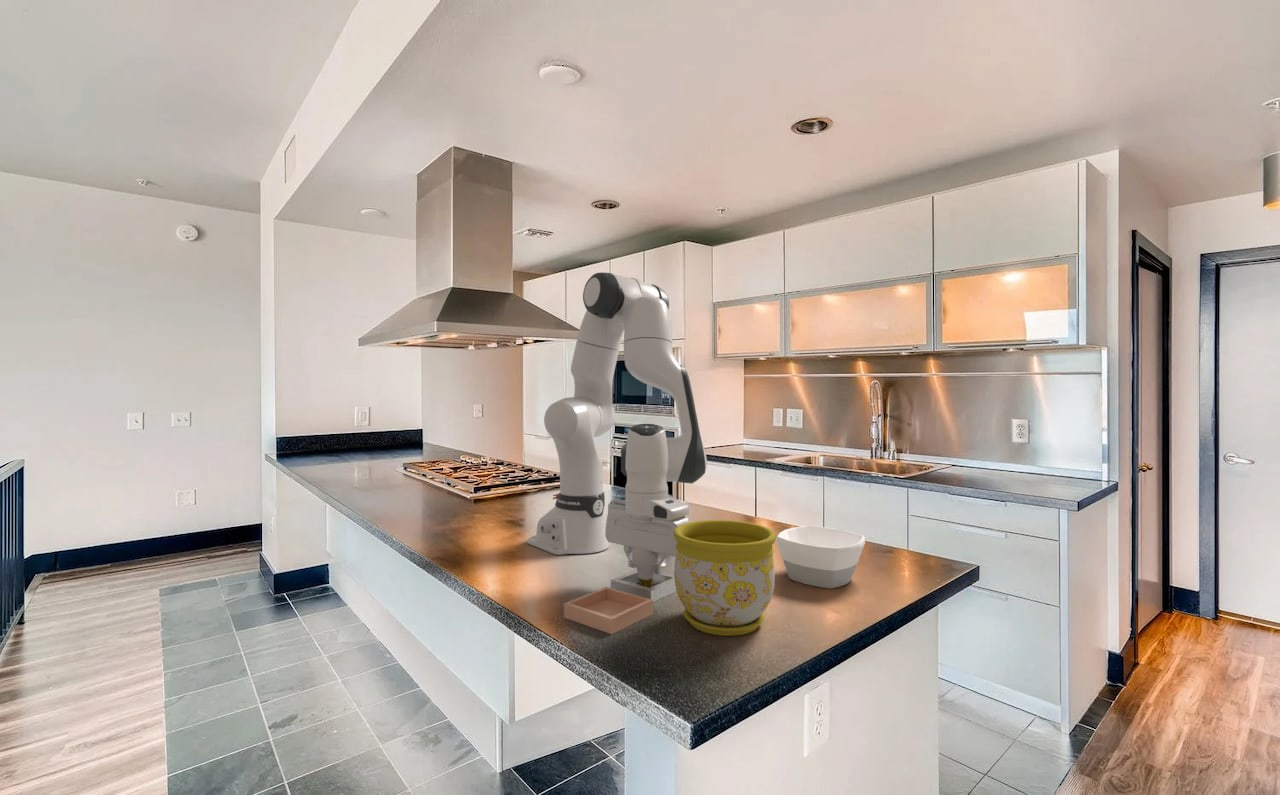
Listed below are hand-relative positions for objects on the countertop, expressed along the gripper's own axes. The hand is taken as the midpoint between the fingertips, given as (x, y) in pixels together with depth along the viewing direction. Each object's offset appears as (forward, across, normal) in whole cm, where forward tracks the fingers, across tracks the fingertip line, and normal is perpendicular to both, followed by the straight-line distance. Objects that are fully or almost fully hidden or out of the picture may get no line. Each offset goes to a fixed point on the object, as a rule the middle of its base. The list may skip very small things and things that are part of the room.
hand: (646, 570), depth 125 cm
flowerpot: (+4, +21, -4) cm, 22 cm away
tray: (+4, +3, -15) cm, 16 cm away
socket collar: (+4, 0, 0) cm, 4 cm away
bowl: (+4, +25, +30) cm, 39 cm away
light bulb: (+4, 0, 0) cm, 4 cm away
